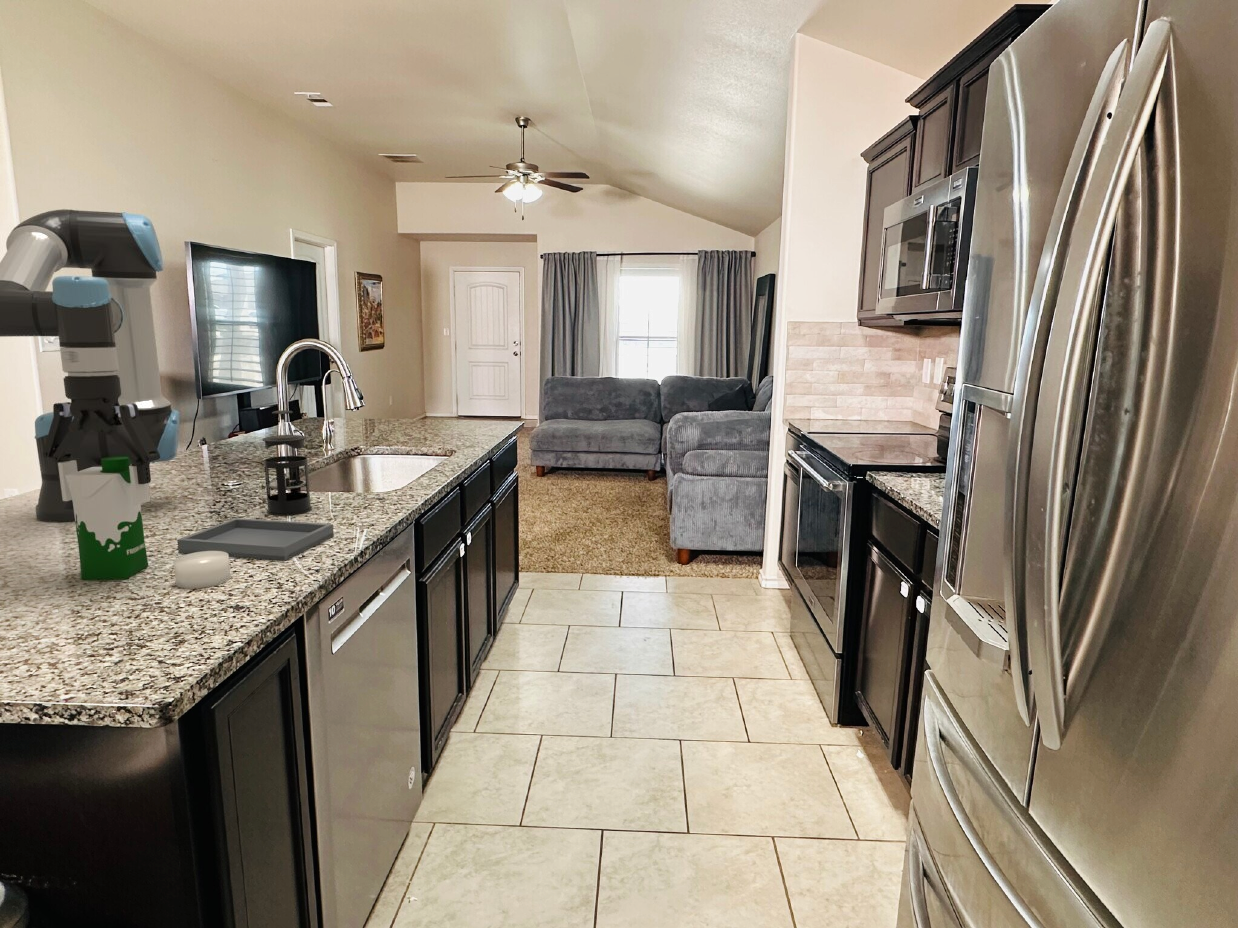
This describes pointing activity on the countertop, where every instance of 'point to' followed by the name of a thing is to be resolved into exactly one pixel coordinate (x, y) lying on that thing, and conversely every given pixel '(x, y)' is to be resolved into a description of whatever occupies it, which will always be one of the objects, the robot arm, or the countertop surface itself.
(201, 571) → the cream glossy pebble
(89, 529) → the soya milk
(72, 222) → the robot arm
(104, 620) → the countertop surface
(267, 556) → the tray
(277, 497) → the french press
